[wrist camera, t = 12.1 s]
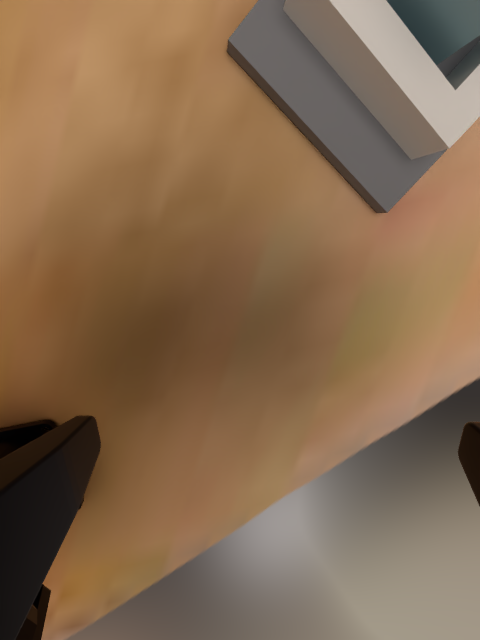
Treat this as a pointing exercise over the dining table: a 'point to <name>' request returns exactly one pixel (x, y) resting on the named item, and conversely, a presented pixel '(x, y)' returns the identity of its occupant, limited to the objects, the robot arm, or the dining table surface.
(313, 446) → the dining table surface
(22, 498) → the robot arm
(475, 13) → the box with white lid
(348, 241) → the dining table surface
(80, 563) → the dining table surface
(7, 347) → the dining table surface
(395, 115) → the board
